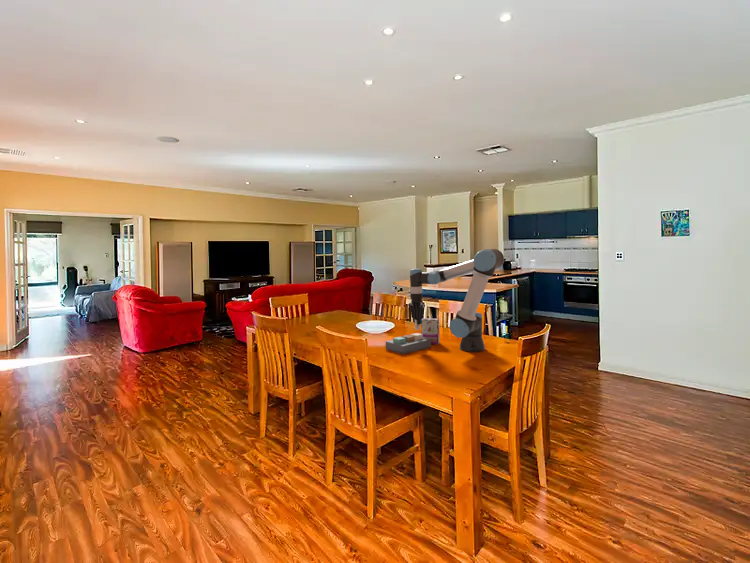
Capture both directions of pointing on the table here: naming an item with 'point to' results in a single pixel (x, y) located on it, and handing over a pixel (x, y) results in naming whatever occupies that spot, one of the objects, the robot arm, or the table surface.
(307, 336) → the table surface
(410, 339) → the walnut key
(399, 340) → the teal key
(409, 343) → the dark grey tray
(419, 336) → the ivory key
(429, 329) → the candy bar box
